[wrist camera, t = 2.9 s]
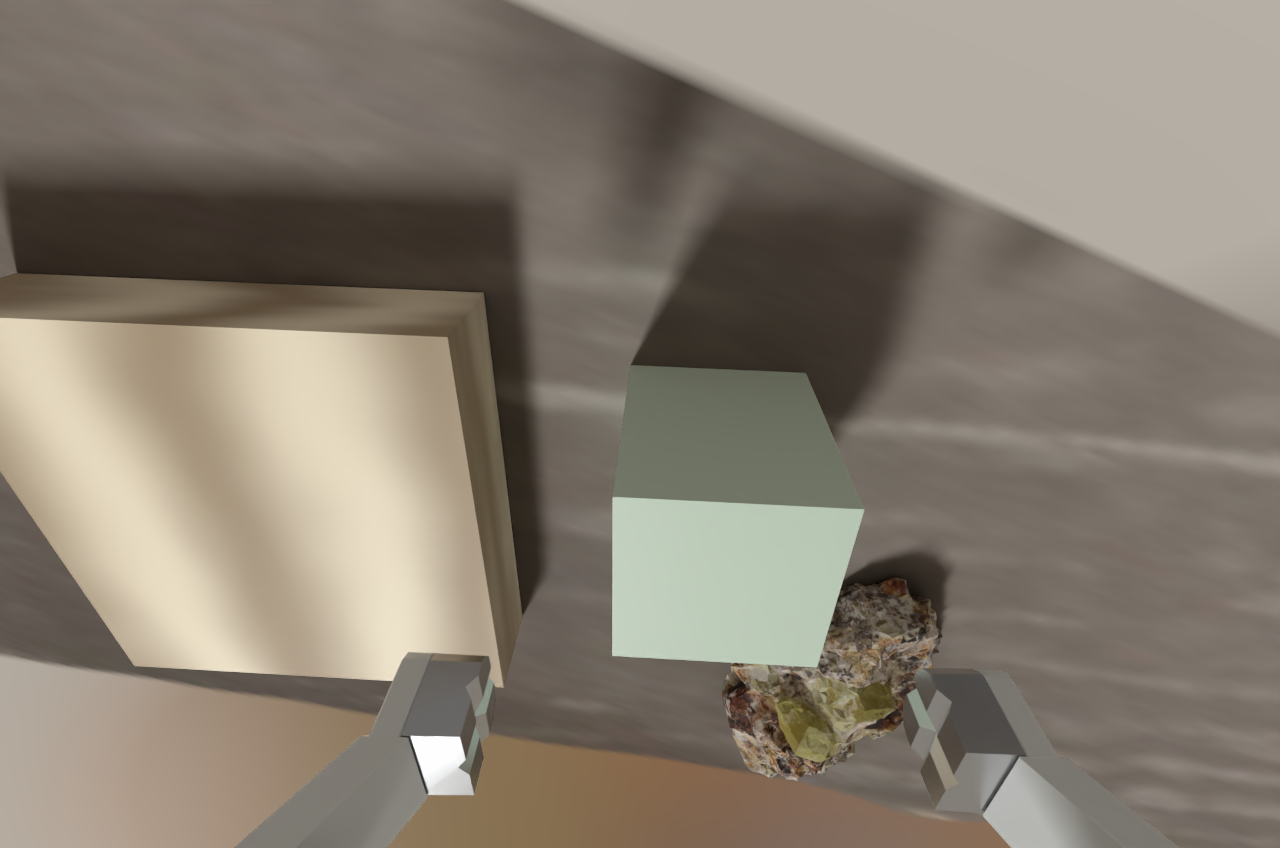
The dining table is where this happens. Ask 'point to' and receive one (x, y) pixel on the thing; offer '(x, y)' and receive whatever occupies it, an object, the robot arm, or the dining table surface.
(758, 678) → the mineral rock
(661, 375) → the sage block
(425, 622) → the birch plinth
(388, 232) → the dining table surface
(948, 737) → the robot arm
